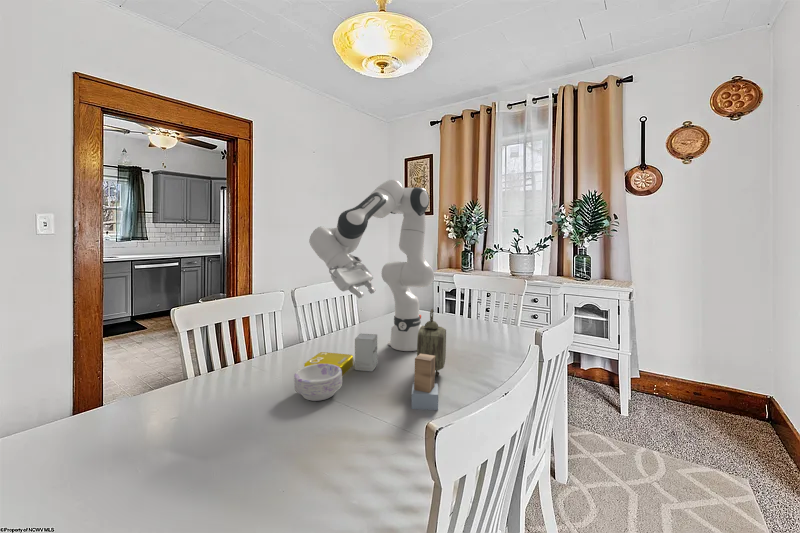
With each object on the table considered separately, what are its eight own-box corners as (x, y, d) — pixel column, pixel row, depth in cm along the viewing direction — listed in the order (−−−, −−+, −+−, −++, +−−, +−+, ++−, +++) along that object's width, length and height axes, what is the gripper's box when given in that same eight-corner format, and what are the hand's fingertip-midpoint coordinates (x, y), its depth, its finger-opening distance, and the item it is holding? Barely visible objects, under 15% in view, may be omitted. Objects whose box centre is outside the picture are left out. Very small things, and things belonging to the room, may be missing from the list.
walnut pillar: (419, 383, 118) (420, 353, 117) (434, 386, 117) (435, 355, 116) (414, 389, 114) (414, 358, 113) (429, 392, 112) (430, 360, 111)
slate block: (412, 397, 120) (412, 382, 119) (437, 398, 119) (437, 383, 119) (411, 409, 112) (411, 393, 111) (438, 410, 111) (438, 394, 111)
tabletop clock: (422, 367, 145) (423, 304, 143) (445, 369, 143) (446, 305, 141) (416, 382, 131) (417, 313, 129) (442, 384, 129) (443, 314, 127)
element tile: (339, 379, 134) (339, 367, 134) (302, 375, 138) (302, 363, 137) (354, 365, 148) (354, 353, 148) (320, 361, 152) (320, 350, 152)
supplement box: (372, 371, 140) (372, 339, 139) (354, 370, 142) (354, 338, 141) (377, 364, 148) (377, 334, 146) (360, 363, 149) (359, 332, 148)
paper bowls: (284, 401, 117) (284, 376, 116) (312, 382, 131) (311, 360, 130) (326, 409, 111) (326, 384, 110) (350, 389, 126) (350, 366, 125)
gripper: (332, 261, 120) (359, 293, 117) (361, 257, 139) (385, 284, 136) (320, 274, 122) (347, 306, 119) (350, 268, 141) (374, 295, 138)
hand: (367, 294), depth 128 cm, fingers open, 8 cm apart
